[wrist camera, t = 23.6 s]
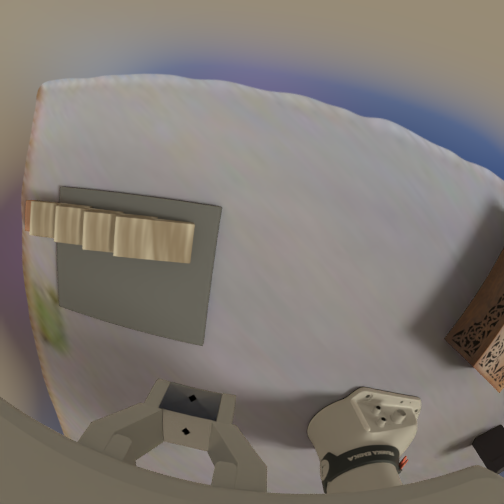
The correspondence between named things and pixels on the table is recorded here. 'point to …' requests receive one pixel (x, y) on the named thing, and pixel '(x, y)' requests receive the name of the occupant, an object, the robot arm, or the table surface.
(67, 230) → the domino
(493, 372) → the tissue box cover
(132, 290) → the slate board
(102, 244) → the domino
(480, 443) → the black rectangular slab
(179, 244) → the domino
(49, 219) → the domino
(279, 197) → the table surface
